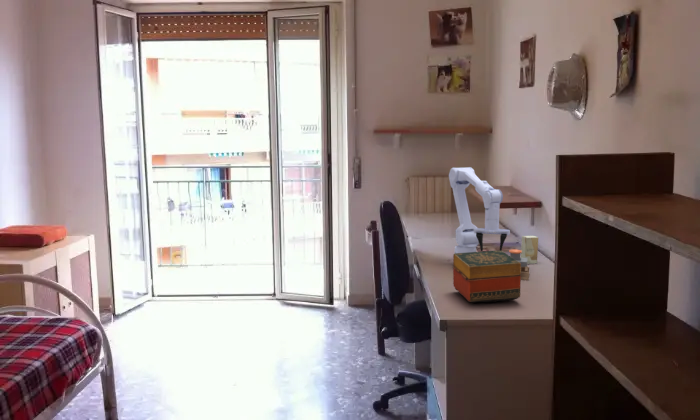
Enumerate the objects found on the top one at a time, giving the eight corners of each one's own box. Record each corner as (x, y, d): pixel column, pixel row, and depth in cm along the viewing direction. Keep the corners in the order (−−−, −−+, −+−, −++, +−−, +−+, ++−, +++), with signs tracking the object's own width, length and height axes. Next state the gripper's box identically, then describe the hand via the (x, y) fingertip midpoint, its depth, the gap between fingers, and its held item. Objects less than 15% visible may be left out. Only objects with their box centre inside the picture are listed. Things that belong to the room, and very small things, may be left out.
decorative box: (505, 292, 230) (504, 249, 230) (524, 303, 209) (522, 255, 208) (452, 295, 230) (450, 252, 229) (465, 307, 208) (463, 259, 207)
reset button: (508, 262, 259) (508, 251, 258) (509, 259, 264) (509, 249, 263) (521, 263, 258) (521, 252, 257) (521, 260, 262) (522, 249, 262)
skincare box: (525, 264, 273) (526, 237, 272) (520, 262, 277) (521, 235, 276) (537, 263, 275) (538, 236, 273) (532, 261, 279) (533, 235, 278)
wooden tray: (475, 276, 251) (475, 268, 251) (478, 270, 262) (478, 262, 261) (528, 280, 245) (528, 271, 244) (529, 274, 255) (529, 265, 255)
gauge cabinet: (502, 271, 259) (502, 260, 258) (503, 267, 267) (503, 256, 266) (526, 273, 256) (527, 261, 255) (527, 269, 264) (527, 258, 263)
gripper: (473, 219, 250) (472, 251, 252) (509, 221, 246) (508, 254, 247) (475, 217, 257) (474, 248, 258) (510, 218, 252) (509, 250, 254)
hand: (491, 251), depth 253 cm, fingers open, 7 cm apart
